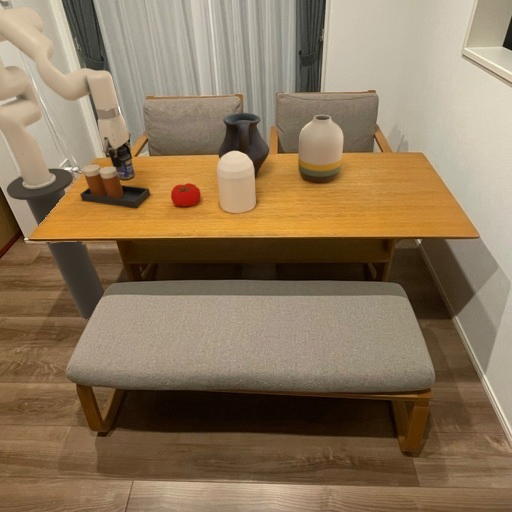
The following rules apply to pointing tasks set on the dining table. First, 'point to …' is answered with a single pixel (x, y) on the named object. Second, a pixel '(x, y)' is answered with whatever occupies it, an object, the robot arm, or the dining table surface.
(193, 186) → the tomato
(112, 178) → the amber bottle
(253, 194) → the container
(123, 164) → the pill bottle
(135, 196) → the tray
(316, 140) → the vase
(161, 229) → the dining table surface
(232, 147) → the pitcher
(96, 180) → the amber bottle
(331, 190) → the dining table surface
